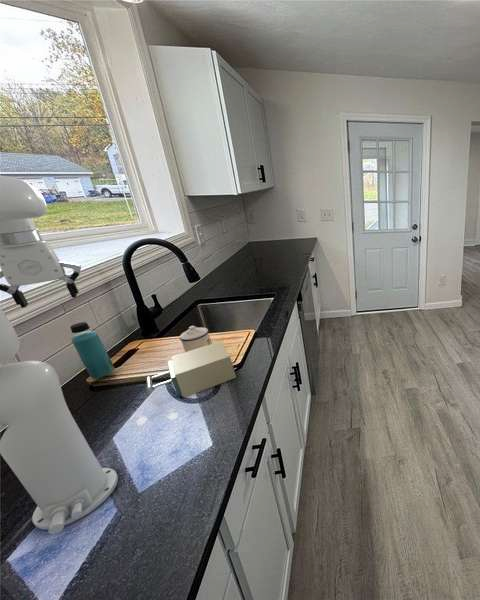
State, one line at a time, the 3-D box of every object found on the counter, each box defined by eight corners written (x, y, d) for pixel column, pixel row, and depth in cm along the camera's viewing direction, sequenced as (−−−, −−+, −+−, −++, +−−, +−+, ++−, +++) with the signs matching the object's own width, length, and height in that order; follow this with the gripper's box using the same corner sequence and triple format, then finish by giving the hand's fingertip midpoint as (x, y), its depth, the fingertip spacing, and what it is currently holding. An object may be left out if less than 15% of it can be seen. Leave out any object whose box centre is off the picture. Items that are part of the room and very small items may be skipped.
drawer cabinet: (183, 397, 93) (174, 375, 90) (178, 377, 103) (170, 356, 100) (236, 377, 101) (229, 356, 98) (227, 360, 111) (220, 340, 108)
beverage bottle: (120, 374, 107) (95, 321, 99) (95, 385, 102) (67, 330, 94) (113, 369, 110) (88, 317, 103) (88, 379, 105) (61, 326, 98)
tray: (152, 406, 89) (144, 387, 87) (150, 385, 98) (143, 369, 96) (227, 377, 100) (222, 360, 98) (219, 361, 109) (214, 346, 107)
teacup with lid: (216, 355, 115) (207, 327, 111) (187, 364, 111) (176, 335, 106) (213, 343, 124) (204, 316, 120) (186, 350, 120) (176, 323, 116)
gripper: (-41, 247, 72) (-1, 314, 78) (63, 235, 82) (91, 296, 88) (-29, 242, 77) (8, 306, 84) (68, 232, 87) (94, 289, 93)
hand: (50, 301), depth 86 cm, fingers open, 9 cm apart
